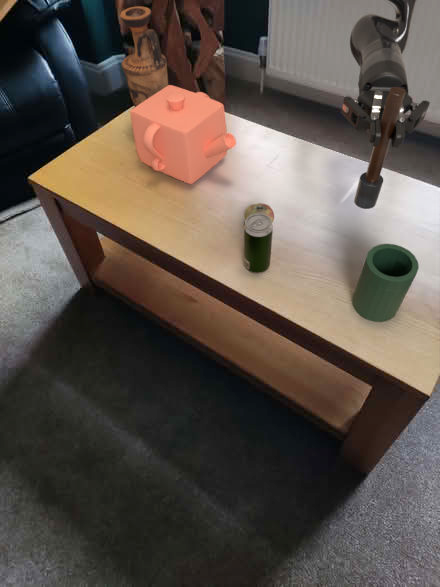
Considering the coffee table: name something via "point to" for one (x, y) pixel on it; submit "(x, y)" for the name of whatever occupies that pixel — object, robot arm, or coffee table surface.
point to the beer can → (257, 243)
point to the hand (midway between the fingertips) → (387, 141)
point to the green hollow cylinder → (384, 282)
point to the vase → (143, 57)
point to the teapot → (181, 133)
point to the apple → (259, 211)
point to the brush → (379, 152)
